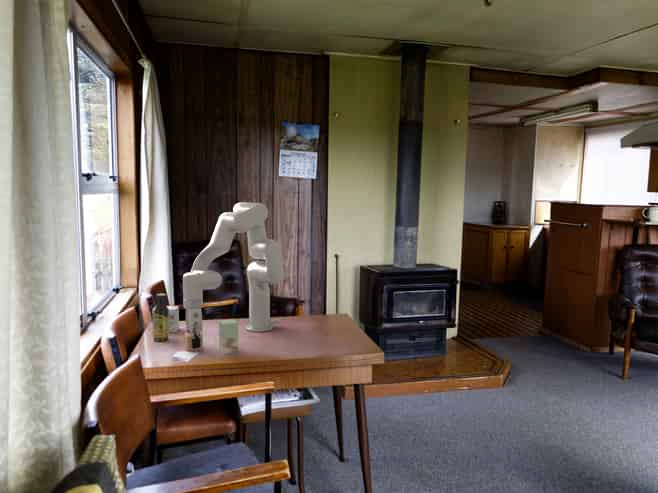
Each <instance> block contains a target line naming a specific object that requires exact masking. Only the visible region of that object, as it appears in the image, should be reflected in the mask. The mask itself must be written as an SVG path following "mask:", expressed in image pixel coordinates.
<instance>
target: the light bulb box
mask: <svg viewBox="0 0 658 493" xmlns="http://www.w3.org/2000/svg"><path fill="white" fill-rule="evenodd" d="M166 306H167V307H168V309H169V333H176V332H178V330H179V329H180V323H179V322H180V316H179V310H180V309H179V308H180V306H179V305H166ZM155 308H156V305H155V306H154V307H153V308H152V309H151V328H152V330H151V333H153V321H154V311H155Z"/></svg>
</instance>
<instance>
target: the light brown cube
mask: <svg viewBox="0 0 658 493" xmlns="http://www.w3.org/2000/svg"><path fill="white" fill-rule="evenodd" d="M183 335H184V348H185V350H186V351H187V352H193V351H195V352H196V351H202V350H204V348H203V347H204V346H203V344H204V343H203V339H204V338H203V336H204V335H203V334H202V332H200V348H194V349H193V348H192V339H193V337H192V333H191V332H189V333H187V332H184V333H183ZM194 335H195V333H194Z"/></svg>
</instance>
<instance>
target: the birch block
mask: <svg viewBox="0 0 658 493" xmlns="http://www.w3.org/2000/svg"><path fill="white" fill-rule="evenodd" d="M218 336H219V337H218V338H219V340H218V341H219V342H218V343H219V344H218V345H219V347H218V349H219V351H220V352H221V353H222V354H223V355H226V354H235V353H239V337H238V338H230V339H222V337H221V336H220V335H219V334H218Z"/></svg>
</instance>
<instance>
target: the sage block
mask: <svg viewBox="0 0 658 493" xmlns="http://www.w3.org/2000/svg"><path fill="white" fill-rule="evenodd" d="M218 329H219V330H218V332H219V334H218V336H219V335H220V336H221V337H222V339H230V338H238V339H239V322H238V321H237V320H235V319H234V318H231V319H223V320H219V321H218Z"/></svg>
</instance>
